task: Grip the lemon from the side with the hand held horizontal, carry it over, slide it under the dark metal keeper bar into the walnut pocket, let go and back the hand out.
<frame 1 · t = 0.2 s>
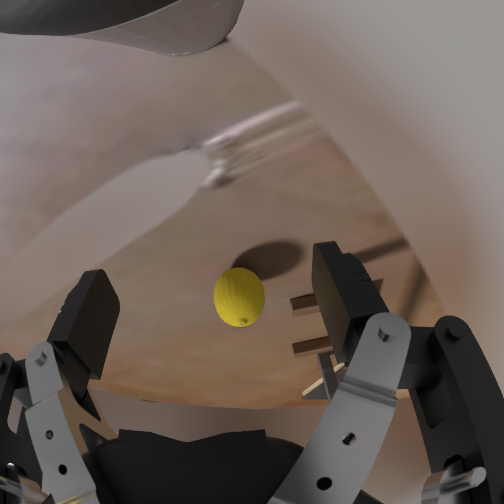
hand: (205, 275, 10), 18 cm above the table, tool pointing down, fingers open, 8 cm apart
lemon: (236, 270, 34), on the table
keeper pocket: (327, 319, 41), on the table
hardcover book: (355, 376, 59), on the table
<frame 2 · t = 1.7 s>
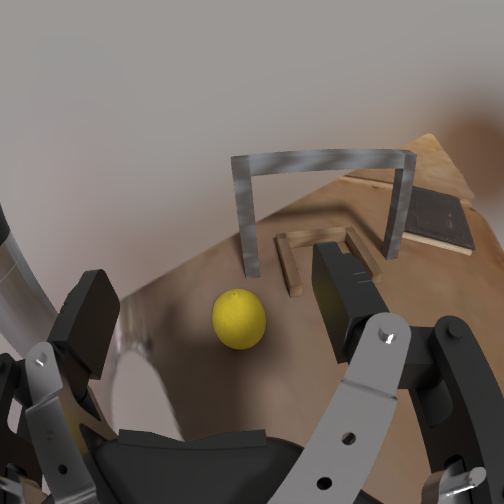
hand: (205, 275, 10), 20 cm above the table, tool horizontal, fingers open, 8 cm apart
lemon: (243, 343, 31), on the table
keeper pocket: (325, 263, 40), on the table
hardcover book: (431, 220, 49), on the table
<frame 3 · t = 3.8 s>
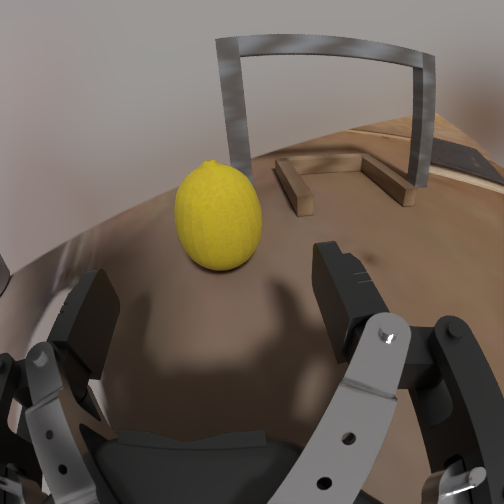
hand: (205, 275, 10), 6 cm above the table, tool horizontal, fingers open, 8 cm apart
lemon: (227, 270, 20), on the table
keeper pocket: (341, 187, 30), on the table
hardcover book: (453, 165, 39), on the table
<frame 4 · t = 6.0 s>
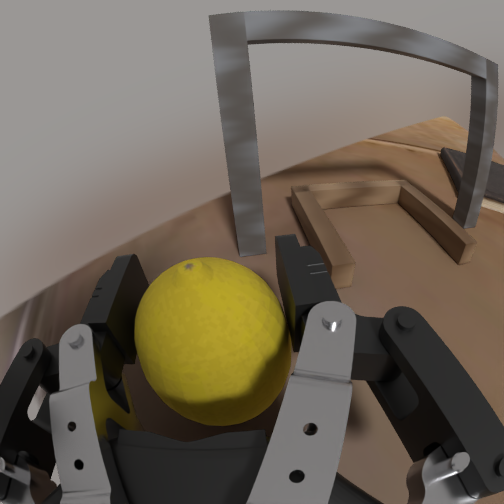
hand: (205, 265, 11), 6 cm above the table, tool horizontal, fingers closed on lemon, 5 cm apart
lemon: (231, 396, 12), on the table, touching gripper
keeper pocket: (379, 232, 22), on the table
hardcover book: (488, 188, 31), on the table
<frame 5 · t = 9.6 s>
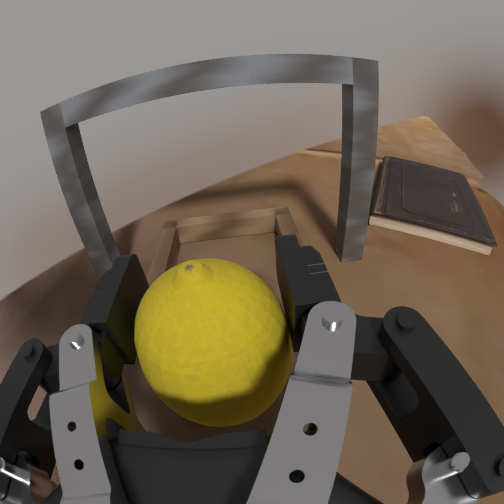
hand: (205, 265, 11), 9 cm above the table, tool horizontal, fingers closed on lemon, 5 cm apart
lemon: (231, 397, 12), point 3 cm above the table, touching gripper
keeper pocket: (228, 268, 25), on the table
hardcover book: (427, 203, 33), on the table
when the fingers open (7 cm above the table, at t = 13.2 s): lemon drops 1 cm, on the table.
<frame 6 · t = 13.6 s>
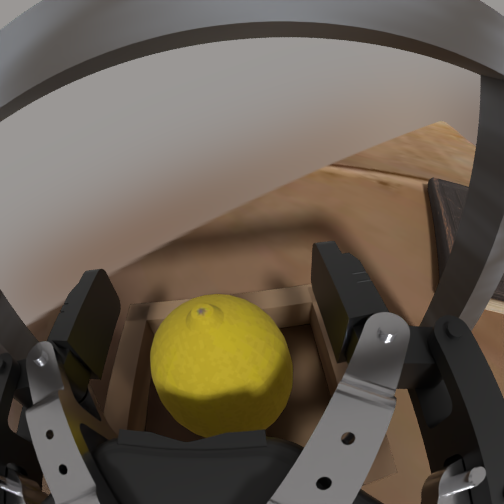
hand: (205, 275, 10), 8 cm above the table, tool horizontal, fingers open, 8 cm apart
lemon: (237, 410, 13), on the table
keeper pocket: (235, 405, 13), on the table
hardcover book: (491, 248, 22), on the table
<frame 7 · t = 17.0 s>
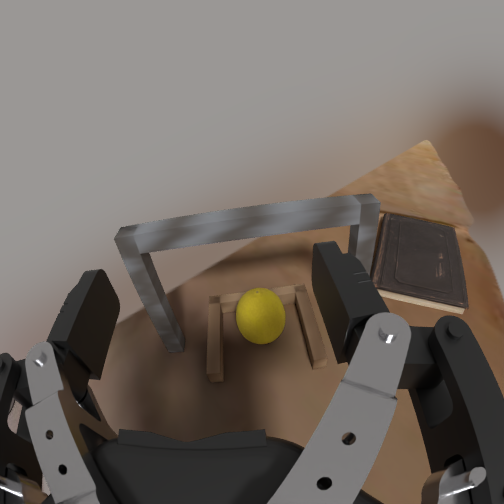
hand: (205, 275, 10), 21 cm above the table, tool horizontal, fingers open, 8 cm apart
lemon: (263, 339, 33), on the table
keeper pocket: (263, 337, 33), on the table
hardcover book: (418, 262, 42), on the table
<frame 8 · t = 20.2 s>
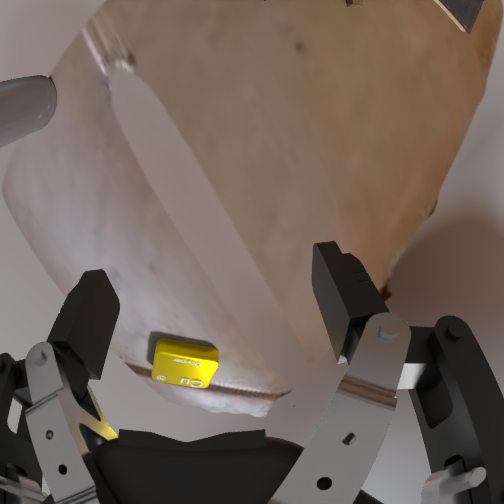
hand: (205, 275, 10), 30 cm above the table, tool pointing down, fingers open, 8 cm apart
yellow flat square block: (184, 357, 64), on the table
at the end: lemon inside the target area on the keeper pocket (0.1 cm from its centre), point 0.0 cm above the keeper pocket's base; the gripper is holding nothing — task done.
